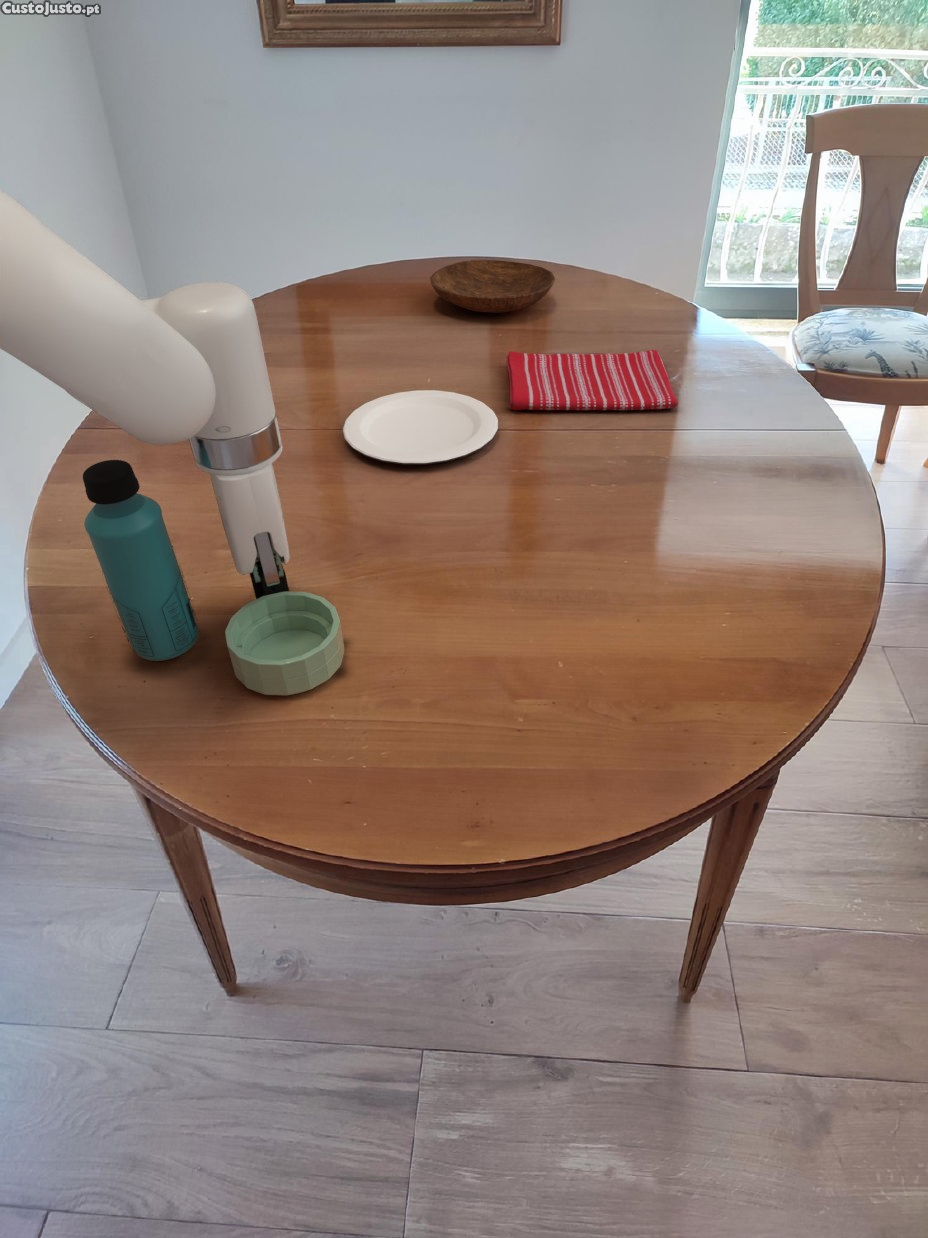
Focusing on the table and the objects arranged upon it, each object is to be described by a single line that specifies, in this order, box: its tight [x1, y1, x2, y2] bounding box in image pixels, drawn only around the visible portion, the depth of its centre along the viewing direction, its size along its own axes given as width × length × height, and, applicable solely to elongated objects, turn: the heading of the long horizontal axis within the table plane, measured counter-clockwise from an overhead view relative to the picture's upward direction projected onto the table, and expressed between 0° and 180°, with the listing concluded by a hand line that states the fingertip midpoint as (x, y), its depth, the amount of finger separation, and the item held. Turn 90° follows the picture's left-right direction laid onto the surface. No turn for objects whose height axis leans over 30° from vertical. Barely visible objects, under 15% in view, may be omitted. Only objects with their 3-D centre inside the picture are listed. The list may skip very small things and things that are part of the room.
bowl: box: [429, 259, 556, 314], centre depth 148 cm, size 20×22×5 cm
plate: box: [342, 389, 499, 466], centre depth 113 cm, size 21×21×2 cm
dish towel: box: [506, 349, 679, 411], centre depth 122 cm, size 17×24×3 cm
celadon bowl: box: [224, 590, 345, 696], centre depth 78 cm, size 10×10×4 cm
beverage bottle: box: [82, 459, 200, 662], centre depth 74 cm, size 6×7×20 cm
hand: (274, 603), depth 83 cm, fingers closed
